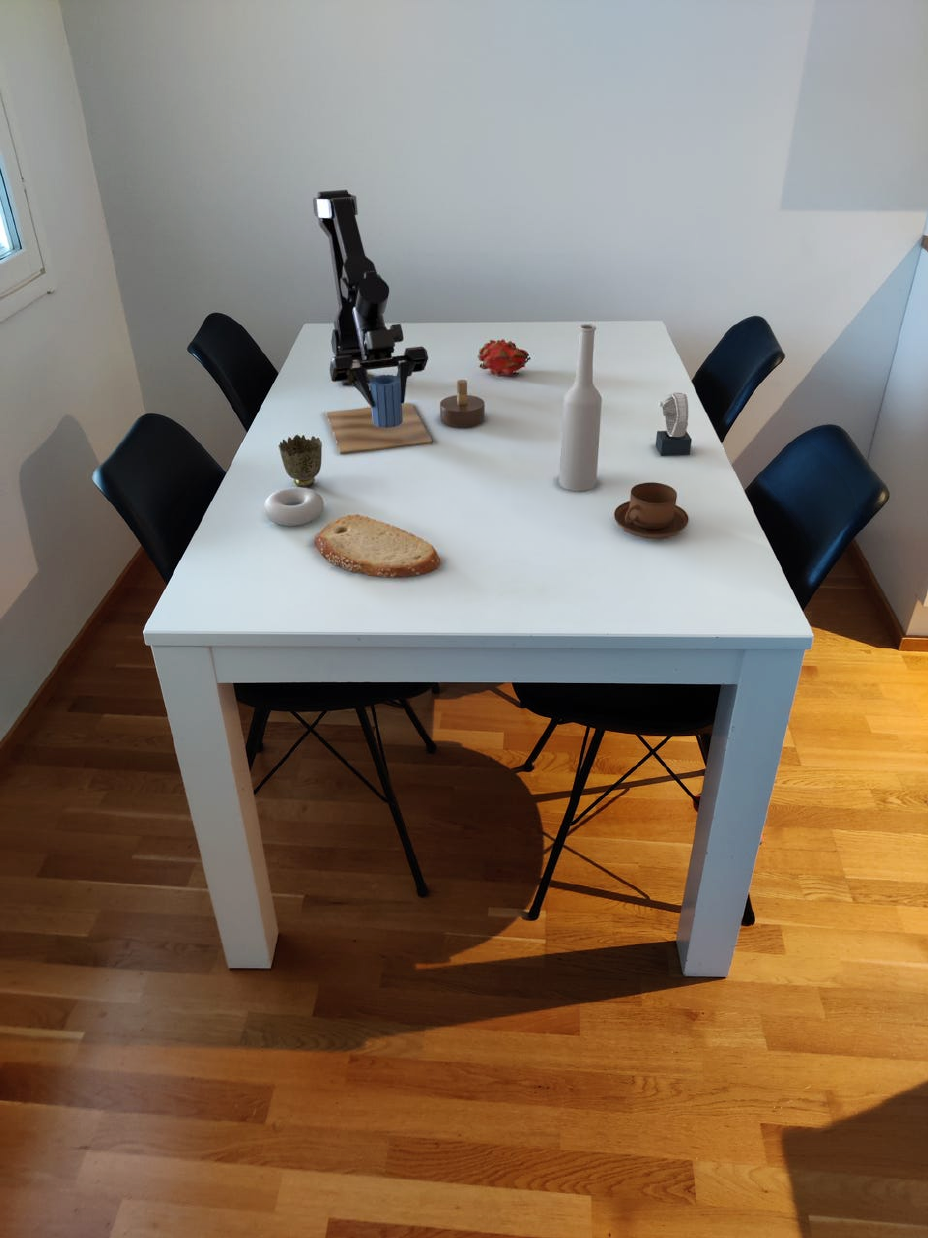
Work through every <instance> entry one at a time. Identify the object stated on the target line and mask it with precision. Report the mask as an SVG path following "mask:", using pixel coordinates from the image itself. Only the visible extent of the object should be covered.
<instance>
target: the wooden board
mask: <svg viewBox="0 0 928 1238" xmlns="http://www.w3.org/2000/svg"><path fill="white" fill-rule="evenodd" d="M325 415H326V418H327V421H328V423H329V426H330V429H331V432H332V434H333V437H334V440H335V443H336V445H337V448H338V451H339V454H340V455H342V454H350V453H352V454H353V453H359V452H366V451H367V452H369V451H375V450H376V451H377V450H384V449H394V448H400V447H409V446H419V445H426V444H433V440H432V438H431V436H430V434H429V433H428V431H427V429H426V427H425V425H424V424H423V422H422V420H421V418H420V417H419V415H418V413H417V411H416V410H415V407H414V406H413V404H412V402H409V403H404V404H402V415H403V422H402V423H401V424H400V425H398V426H396V427H391V428H381V427H377V426H375V425H374V424H373V420H372V408H371V407H363V408H355V409H346V410H345V409H344V410H336V411H328V412H325Z"/></svg>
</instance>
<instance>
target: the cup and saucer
mask: <svg viewBox="0 0 928 1238" xmlns="http://www.w3.org/2000/svg"><path fill="white" fill-rule="evenodd" d="M629 496H630V497H629V500H627V501H625V502H623V503H621V504H619V505H618V506H617V507H616V508H615V509H614V512H613V517H614V520H615V522H616V524H617V525H618V526H619V527H620V528H621V529H623V530H624V531H626V532H627V533H630V534H632V535H634V536H639V537H642V538H649V539H659V538H667V537H671V536H674V535H675V536H676V534H679V533H680V532H682V531H683V530H685V528H686V527H687V525H688V524H689V515H688V513H687V512H686V510H685V509H683V508H682V507H680V506H679V505H677V498H678V493H677V490H676V489H674V487H672V486H670V485H668V484H665V483H661V482H651V481H650V482H649V481H648V482H642V483H641V482H640V483H638V484H636V485H634V486H632V487H631V489H630V495H629Z"/></svg>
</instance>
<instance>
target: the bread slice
mask: <svg viewBox="0 0 928 1238" xmlns="http://www.w3.org/2000/svg"><path fill="white" fill-rule="evenodd" d="M313 544H314V546H315V548H316V551H317V552H318V553H319V555H321V557H323V559H324V560H326V561H327V562H329V563H330V564H334V565H335V566H337V567H339V568H342V569H344V570H346V571H349V572H350V573H352V572H353V573H362V574H365V575H367V576H371V577H377V578H395V579H399V578H400V579H401V578H411V577H417V576H421V575H425V574H428V573H431V572H433V571H434V570H438V569H439V567H440V566H441V563H442V561H441V558H440V556H439V555H438V552H437V551H436V549H435V547H434V545H432V544H430V543H429V542H428V541H426V540H424V539H423V538H422V537H420V536H416V535H414V534H413V533H411V532H409V531H407V530H404V529H402V528H400V527H397V526H394V525H391V524H389V523H386V522H383V521H381V520H377V519H375V518H371V517H369V516H365V515H361V514H359V513H356V514H353V515H352V514H348V515H345V516H342V517H339V518H338V519H335V520H333V521H332V522H330V523H328V524H327V525H326V526H325V527H324V528H322V529H321V530H320V531H319V533H318V534H317V535H315V538H314V539H313Z"/></svg>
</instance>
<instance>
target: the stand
mask: <svg viewBox="0 0 928 1238" xmlns="http://www.w3.org/2000/svg"><path fill="white" fill-rule="evenodd" d="M485 405H486V403H485V401H484V399H482V398H480V397H478V396H475V395H472V394H468V381H467V380H466V379H459V380H457V381H456V394H455V395H454V394H453V395H450V396H446V397H445V398H443V399H442V400H440V403H439V413H440V414H439V415H440V420H439V421H440V422H441V423H442V424H443V425H444V426H447V427H449V428H454V429H469V428H474V427H477V426H480V425H482V424H483V423H485V420H486V419H485V417H486V416H485V415H486V413H485V412H486V411H485V410H486V409H485Z"/></svg>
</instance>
